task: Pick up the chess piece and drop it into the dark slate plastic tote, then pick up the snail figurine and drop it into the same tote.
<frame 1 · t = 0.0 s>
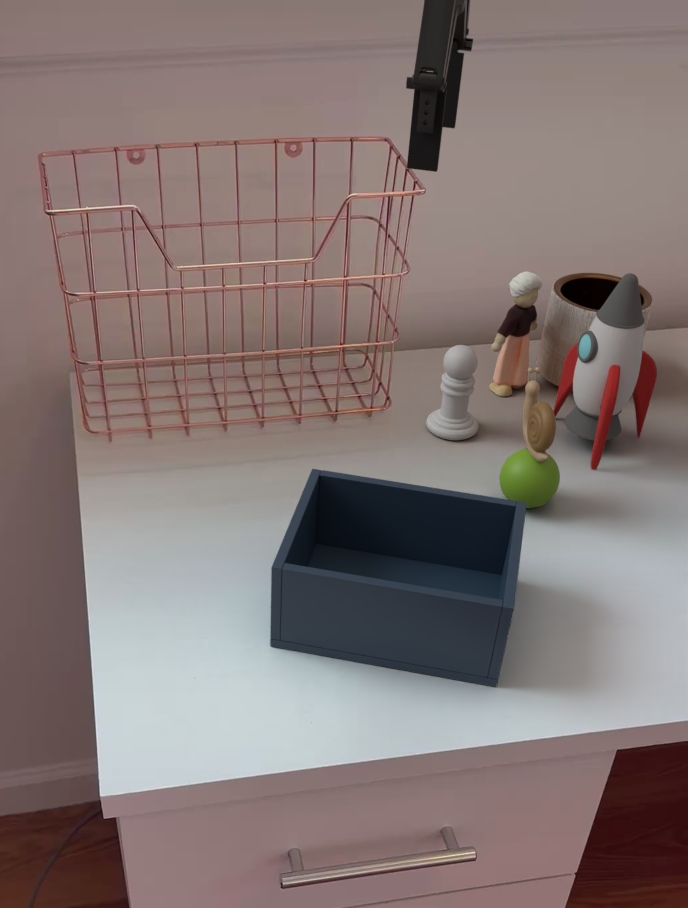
hand: (432, 146, 97), 24 cm above the table, tool pointing down, fingers open, 13 cm apart
snail figurine: (522, 501, 96), on the table
planter: (582, 376, 116), on the table
toy: (599, 442, 105), on the table
tote: (395, 610, 84), on the table
grandmother figurine: (508, 387, 113), on the table
chess piece: (451, 430, 105), on the table
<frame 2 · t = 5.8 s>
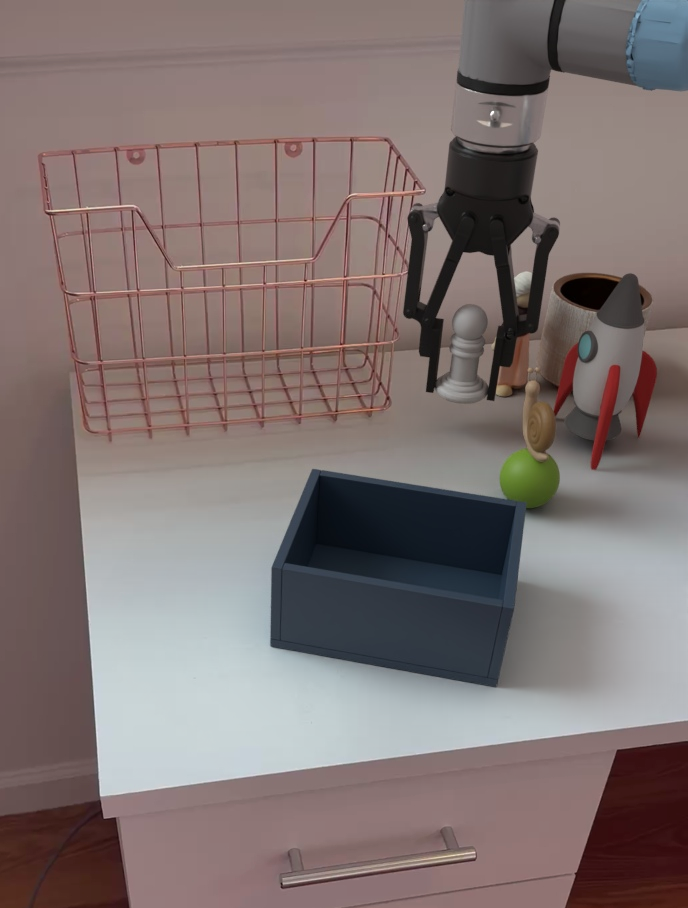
hand: (461, 389, 102), 5 cm above the table, tool pointing down, fingers closed on chess piece, 5 cm apart
chess piece: (460, 394, 103), point 4 cm above the table, touching gripper
everything else where it was.
when the fingers open (8 cm above the table, at t = 10.8 s): chess piece drops 4 cm, resting on tote.
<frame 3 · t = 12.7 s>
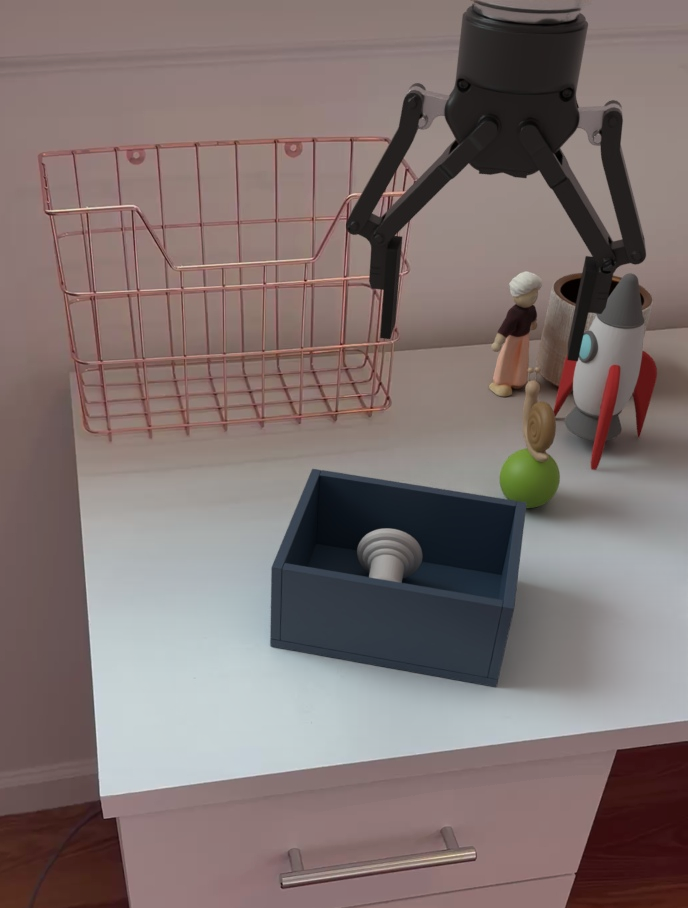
hand: (479, 342, 76), 20 cm above the table, tool pointing down, fingers open, 13 cm apart
chess piece: (390, 548, 84), point 4 cm above the table, touching tote
everything else where it was.
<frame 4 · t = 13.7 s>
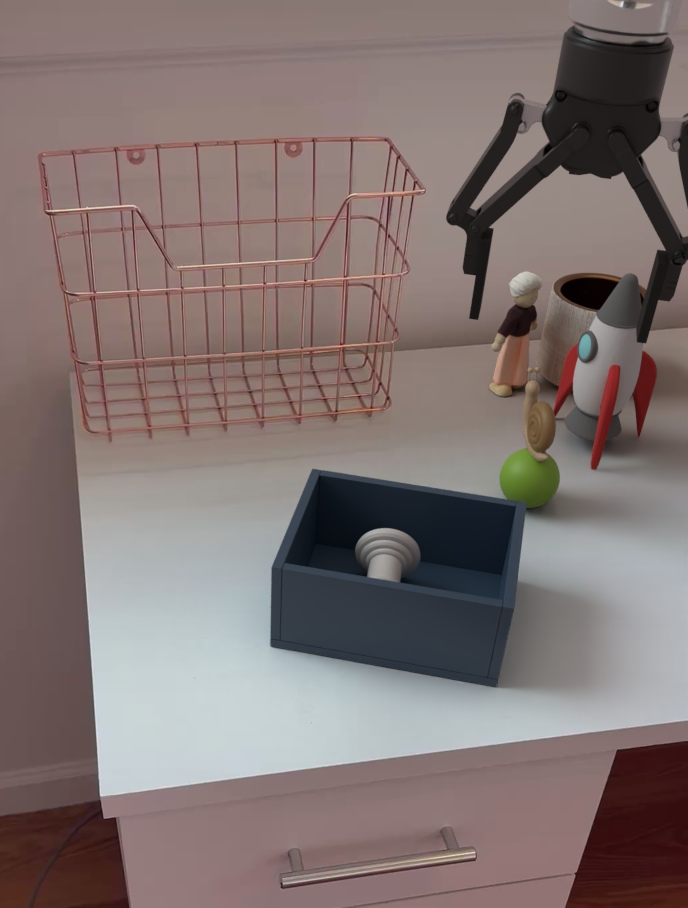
hand: (557, 324, 85), 17 cm above the table, tool pointing down, fingers open, 13 cm apart
nothing on the table moved.
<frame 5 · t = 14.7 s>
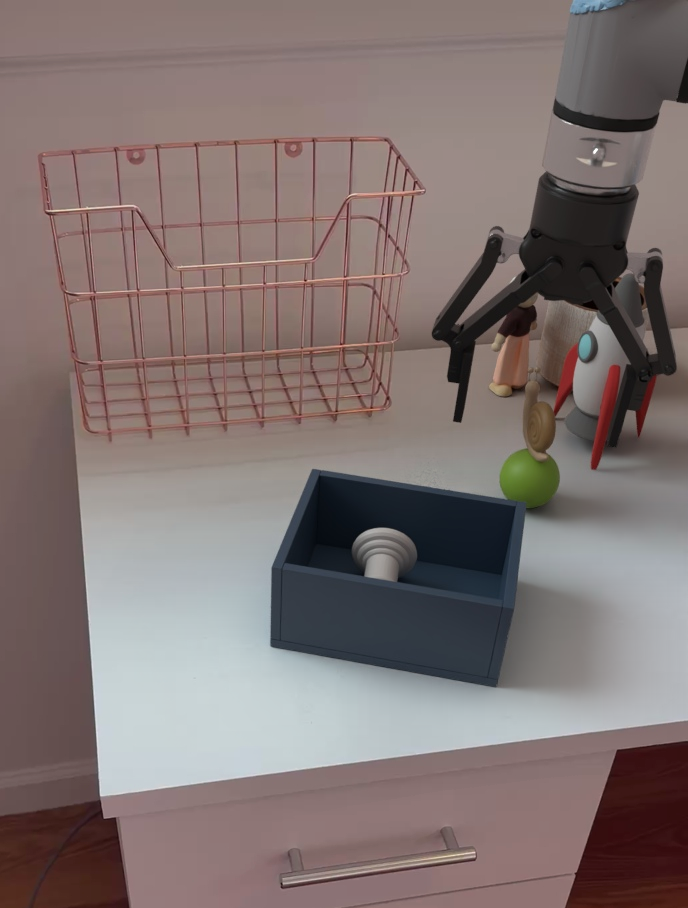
hand: (534, 427, 91), 8 cm above the table, tool pointing down, fingers open, 13 cm apart
nothing on the table moved.
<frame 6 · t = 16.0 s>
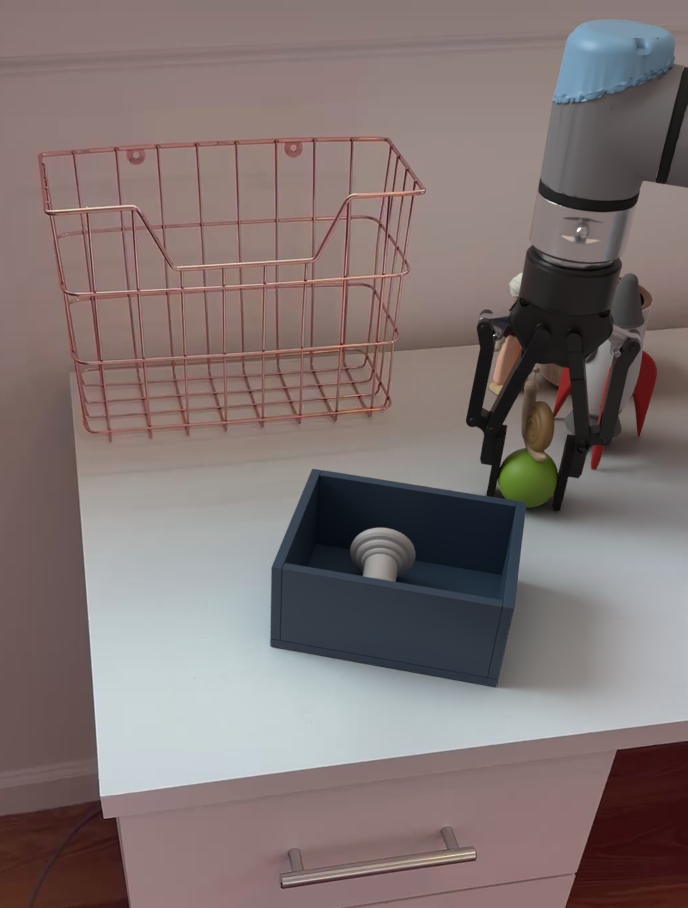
hand: (523, 497, 96), 0 cm above the table, tool pointing down, fingers closed on snail figurine, 5 cm apart
snail figurine: (520, 501, 96), on the table, touching gripper
everything else where it was.
when the fingers open (8 cm above the table, at t = 22.4 s): snail figurine drops 3 cm, resting on chess piece.
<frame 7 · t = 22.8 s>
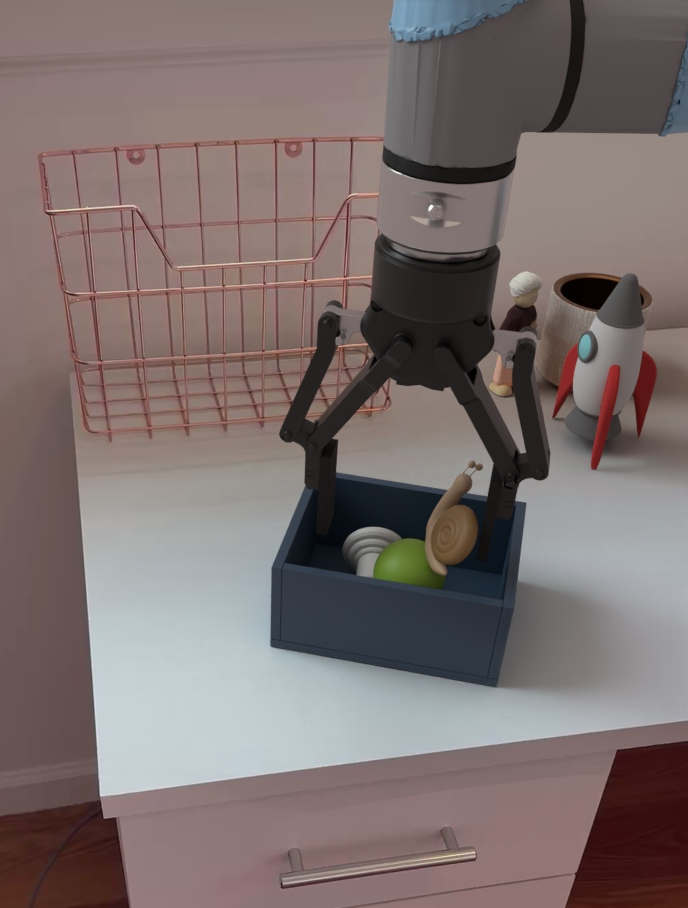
hand: (403, 537, 76), 9 cm above the table, tool pointing down, fingers open, 11 cm apart
snail figurine: (386, 590, 79), point 4 cm above the table, touching chess piece, gripper
chess piece: (375, 546, 84), point 4 cm above the table, touching snail figurine, tote
everything else where it was.
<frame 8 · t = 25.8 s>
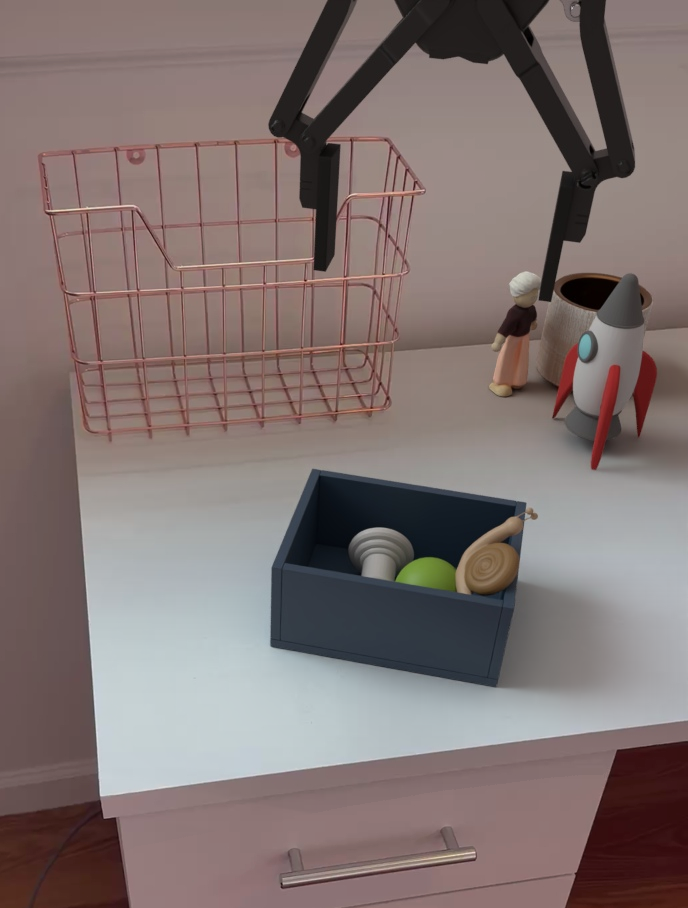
hand: (433, 277, 62), 29 cm above the table, tool pointing down, fingers open, 13 cm apart
snail figurine: (397, 601, 80), point 3 cm above the table, touching chess piece, tote
everything else where it was.
at the end: chess piece inside the target area in the tote (3.9 cm from its centre), point 3.5 cm above the tote's base; snail figurine inside the target area in the tote (2.2 cm from its centre), point 2.9 cm above the tote's base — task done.
